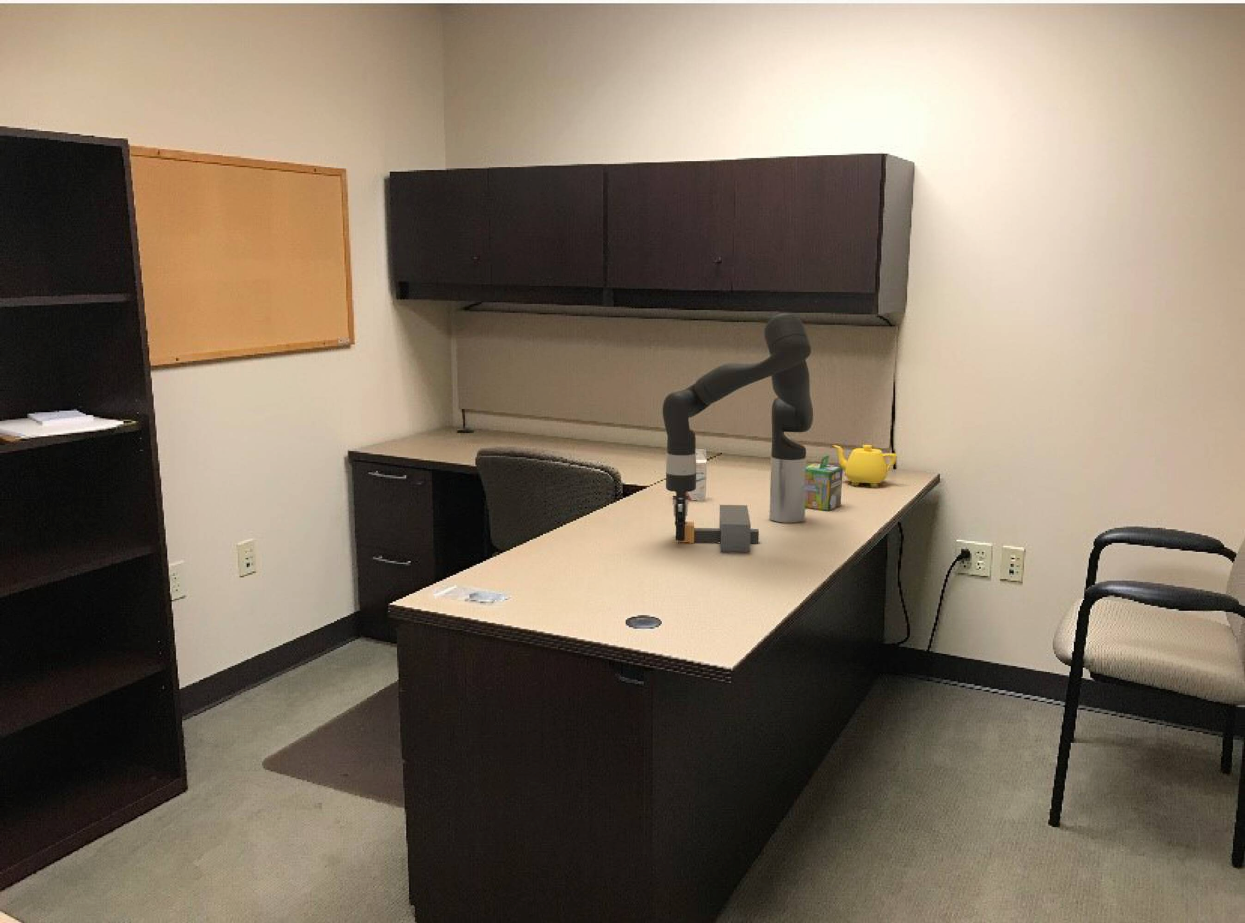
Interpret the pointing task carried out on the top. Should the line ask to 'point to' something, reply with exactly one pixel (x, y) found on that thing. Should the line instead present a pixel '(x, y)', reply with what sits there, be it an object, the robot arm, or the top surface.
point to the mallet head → (734, 528)
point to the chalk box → (823, 485)
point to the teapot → (866, 465)
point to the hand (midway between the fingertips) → (680, 537)
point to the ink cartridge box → (700, 477)
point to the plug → (710, 534)
